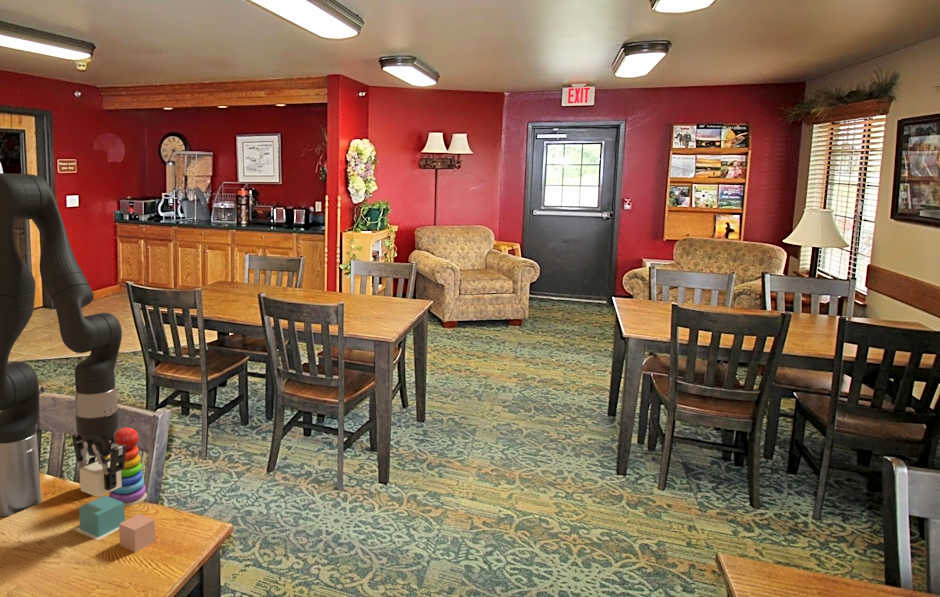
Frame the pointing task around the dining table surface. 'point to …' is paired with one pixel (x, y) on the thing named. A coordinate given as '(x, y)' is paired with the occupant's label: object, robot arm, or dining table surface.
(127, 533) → the pink cube
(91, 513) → the teal base brick
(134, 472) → the stacking toy
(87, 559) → the dining table surface
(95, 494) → the cream brick
